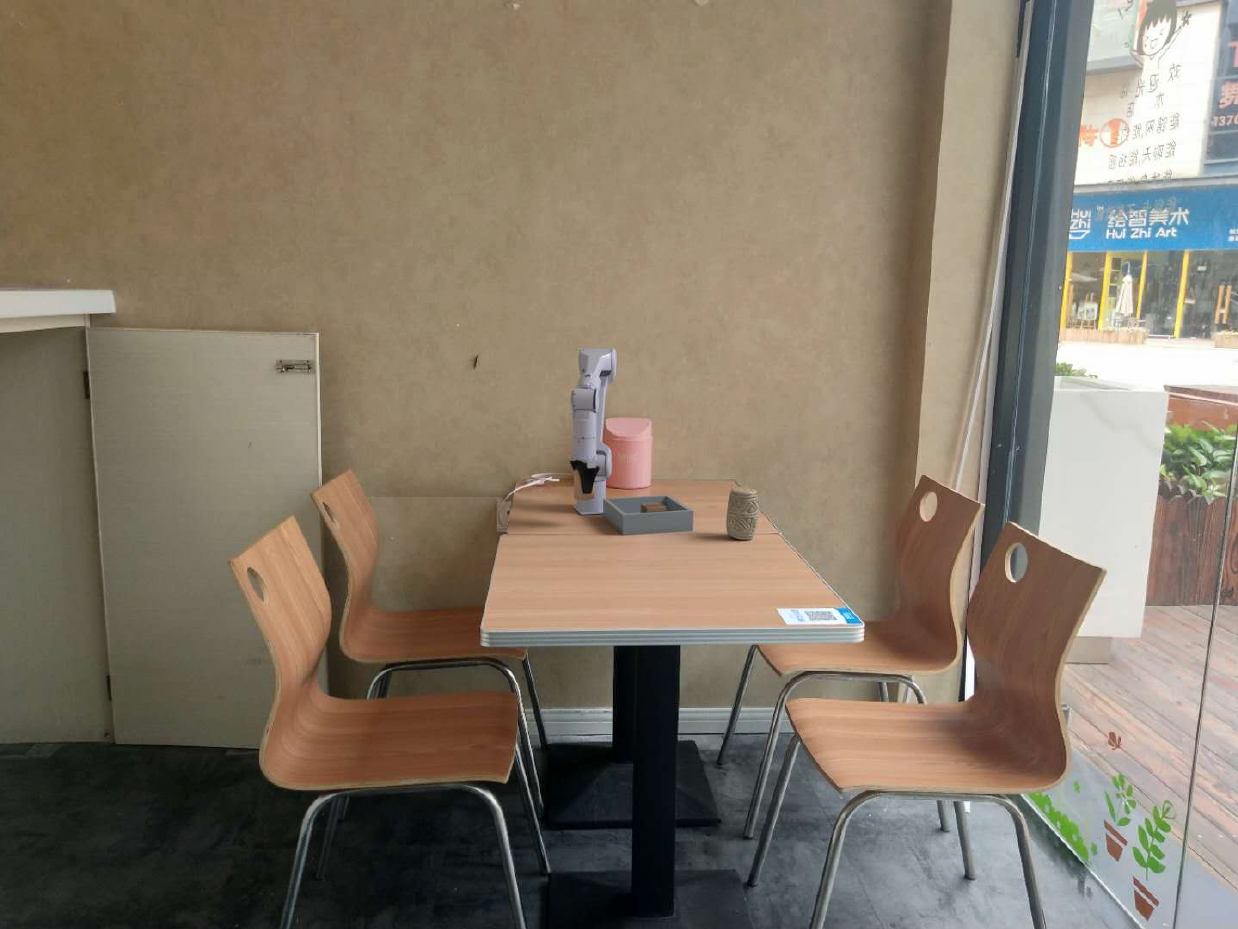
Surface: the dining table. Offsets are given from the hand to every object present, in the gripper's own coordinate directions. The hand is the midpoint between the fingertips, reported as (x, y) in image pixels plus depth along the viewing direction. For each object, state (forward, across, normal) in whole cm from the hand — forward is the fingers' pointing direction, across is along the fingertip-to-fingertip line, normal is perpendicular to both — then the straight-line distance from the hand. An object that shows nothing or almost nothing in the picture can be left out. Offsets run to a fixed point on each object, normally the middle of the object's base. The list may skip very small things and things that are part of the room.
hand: (584, 491), depth 225 cm
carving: (+9, +20, +34) cm, 40 cm away
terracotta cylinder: (+2, 0, 0) cm, 2 cm away
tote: (+9, +2, +16) cm, 18 cm away
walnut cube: (+8, +7, +16) cm, 19 cm away
